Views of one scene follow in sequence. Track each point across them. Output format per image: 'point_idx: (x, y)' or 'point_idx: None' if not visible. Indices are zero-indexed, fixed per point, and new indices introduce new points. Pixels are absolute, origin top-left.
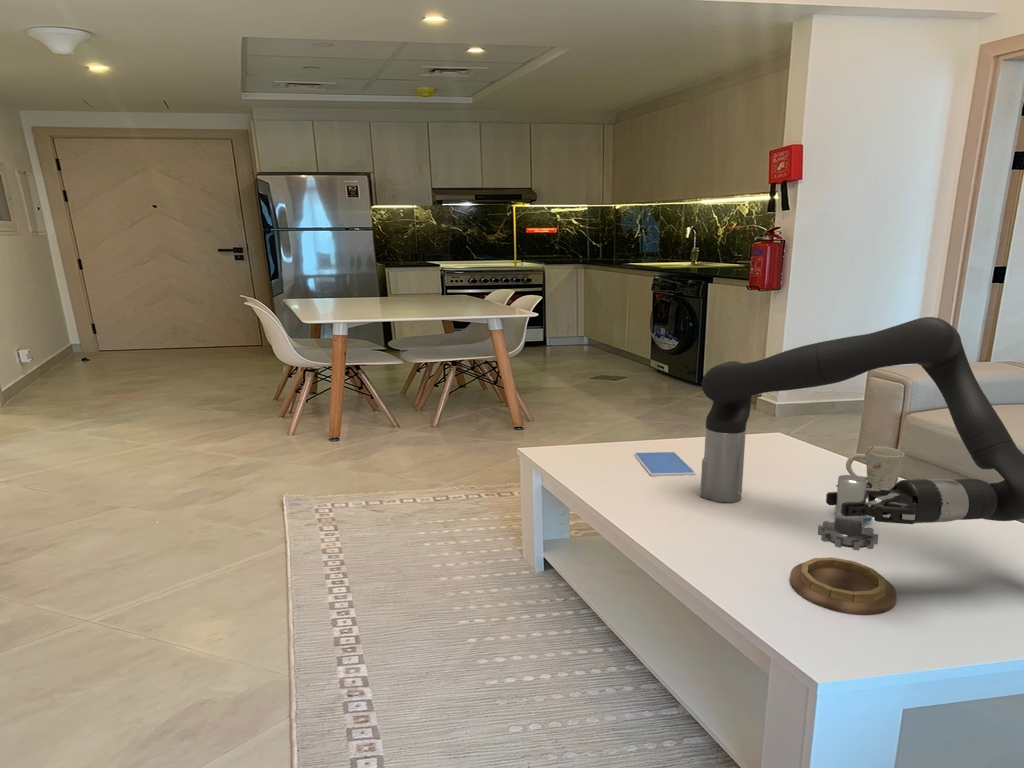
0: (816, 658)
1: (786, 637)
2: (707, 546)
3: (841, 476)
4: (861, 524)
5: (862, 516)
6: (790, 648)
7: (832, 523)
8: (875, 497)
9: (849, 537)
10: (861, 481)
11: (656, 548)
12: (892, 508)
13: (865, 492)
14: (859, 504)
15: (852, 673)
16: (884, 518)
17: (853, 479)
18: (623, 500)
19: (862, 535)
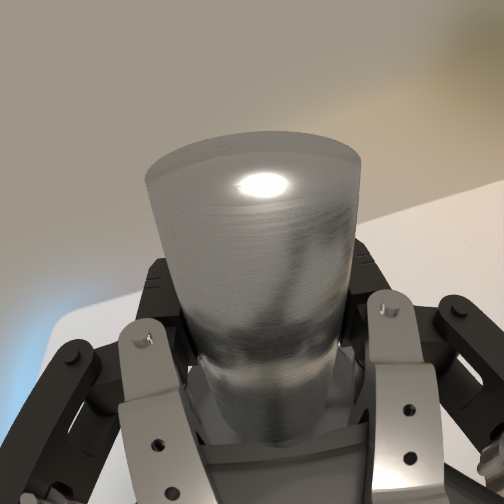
0: (83, 329)
1: (129, 314)
2: (412, 271)
3: (311, 138)
4: (220, 405)
5: (212, 385)
6: (108, 311)
7: (340, 362)
8: (289, 449)
9: (204, 375)
10: (187, 179)
11: (377, 225)
12: (29, 413)
13: (186, 285)
14: (159, 294)
15: (49, 352)
16: (90, 421)
17: (244, 158)
18: (493, 211)
19: (218, 428)
